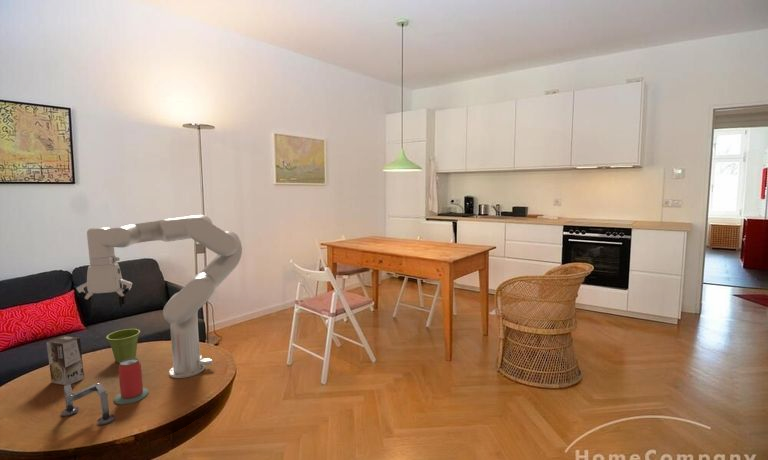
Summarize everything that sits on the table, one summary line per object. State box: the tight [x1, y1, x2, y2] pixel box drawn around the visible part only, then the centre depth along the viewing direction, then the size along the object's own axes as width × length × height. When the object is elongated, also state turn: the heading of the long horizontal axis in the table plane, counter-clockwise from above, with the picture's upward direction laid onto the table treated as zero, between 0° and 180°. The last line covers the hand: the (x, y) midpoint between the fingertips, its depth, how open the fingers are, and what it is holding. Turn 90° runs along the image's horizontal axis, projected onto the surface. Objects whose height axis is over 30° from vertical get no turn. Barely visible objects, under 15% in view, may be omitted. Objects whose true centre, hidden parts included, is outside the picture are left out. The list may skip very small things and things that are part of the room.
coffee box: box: [46, 335, 85, 386], centre depth 149 cm, size 9×6×16 cm
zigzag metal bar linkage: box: [60, 382, 116, 426], centre depth 125 cm, size 17×13×9 cm
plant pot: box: [105, 328, 141, 364], centre depth 166 cm, size 12×12×11 cm
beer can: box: [117, 357, 144, 399], centre depth 137 cm, size 7×7×12 cm
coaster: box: [113, 387, 150, 405], centre depth 137 cm, size 10×10×1 cm
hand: (107, 307), depth 145 cm, fingers open, 9 cm apart
